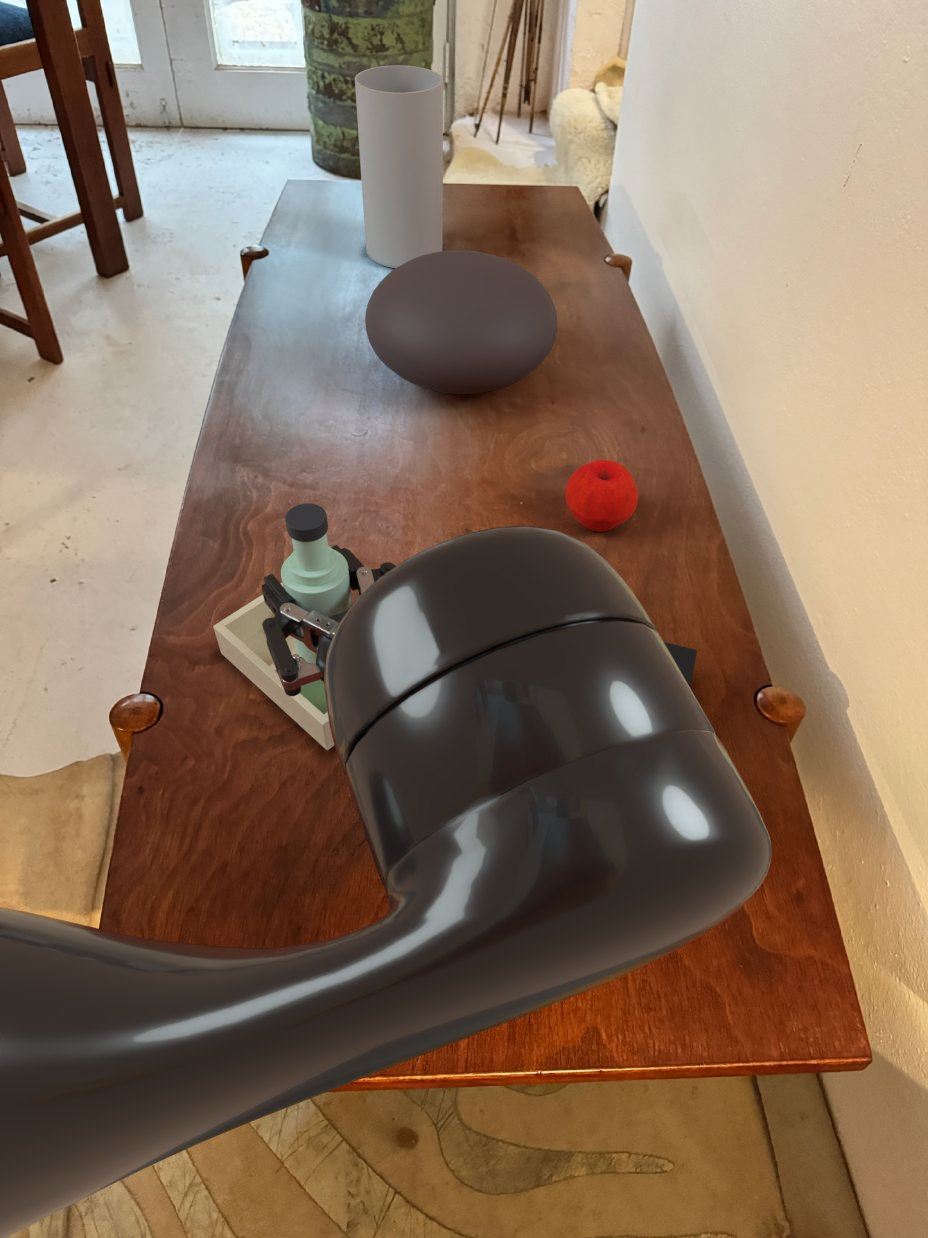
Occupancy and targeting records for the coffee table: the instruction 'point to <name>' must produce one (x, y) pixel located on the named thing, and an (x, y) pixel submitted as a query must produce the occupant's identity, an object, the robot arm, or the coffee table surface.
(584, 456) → the coffee table surface
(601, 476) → the apple
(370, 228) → the cylinder vase
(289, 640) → the cream rectangular tray
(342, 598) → the bottle
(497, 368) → the flattened ellipsoid
